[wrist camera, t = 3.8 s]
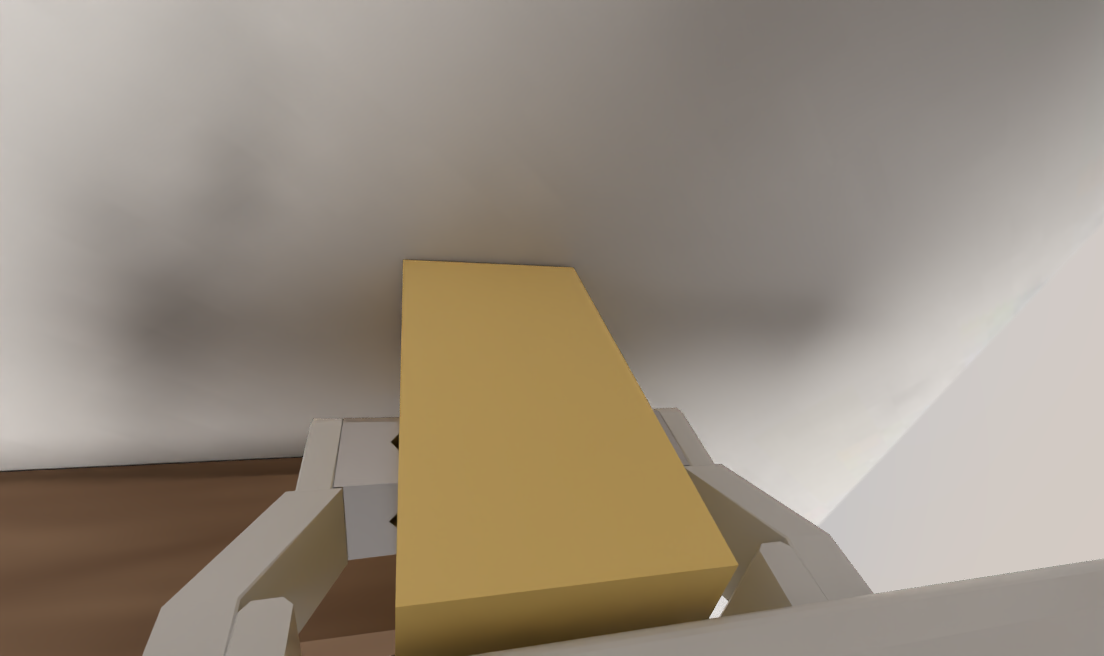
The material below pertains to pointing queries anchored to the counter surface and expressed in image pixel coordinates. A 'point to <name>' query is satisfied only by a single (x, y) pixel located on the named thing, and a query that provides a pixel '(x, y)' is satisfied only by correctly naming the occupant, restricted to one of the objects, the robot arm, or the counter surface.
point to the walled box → (153, 556)
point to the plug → (534, 473)
